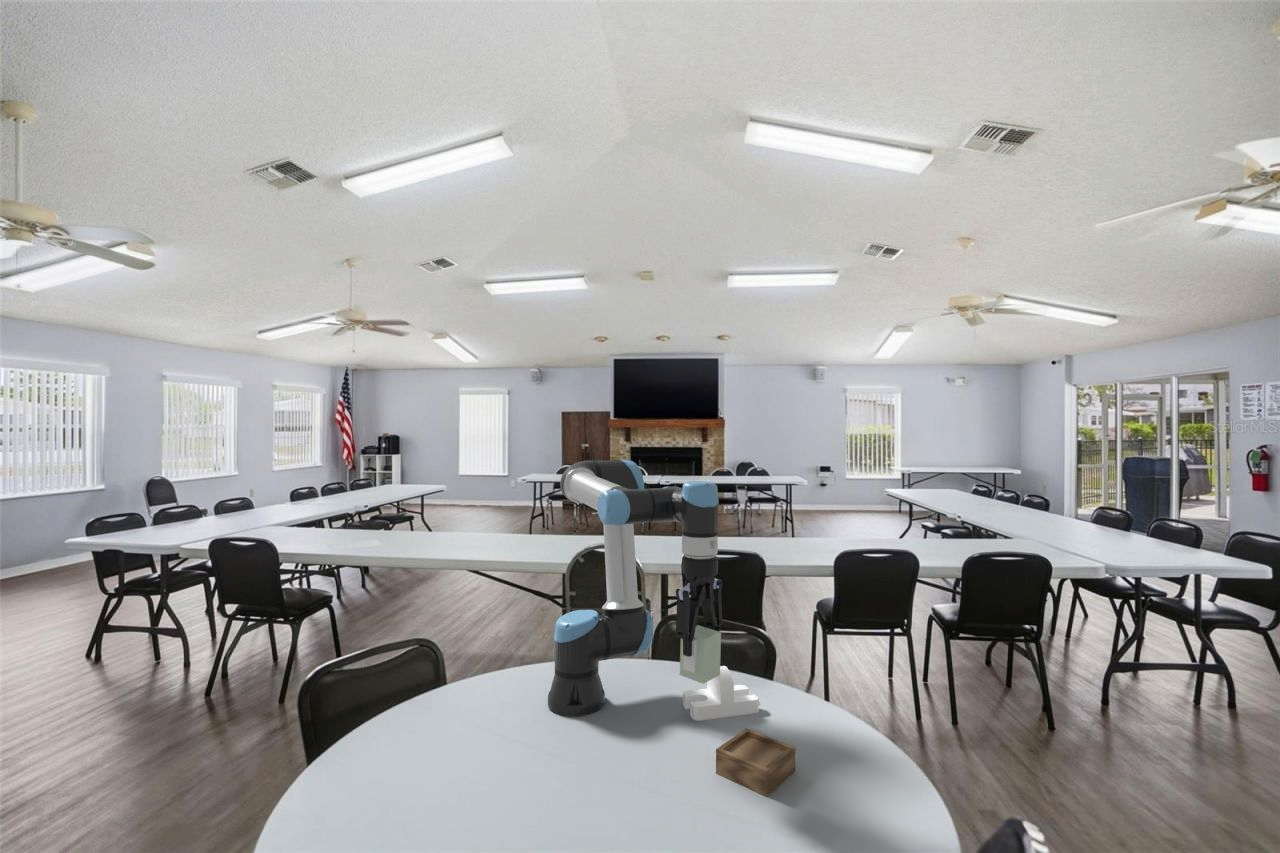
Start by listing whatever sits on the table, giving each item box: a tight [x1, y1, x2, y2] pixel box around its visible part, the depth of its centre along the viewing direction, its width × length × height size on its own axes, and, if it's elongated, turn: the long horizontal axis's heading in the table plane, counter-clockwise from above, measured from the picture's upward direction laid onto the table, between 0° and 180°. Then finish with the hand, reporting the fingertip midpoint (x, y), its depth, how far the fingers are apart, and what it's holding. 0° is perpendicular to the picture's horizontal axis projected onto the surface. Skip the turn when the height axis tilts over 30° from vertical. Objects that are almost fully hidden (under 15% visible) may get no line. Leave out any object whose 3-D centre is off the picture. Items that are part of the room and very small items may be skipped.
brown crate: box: [715, 728, 796, 798], centre depth 122 cm, size 12×12×5 cm
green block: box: [679, 624, 722, 685], centre depth 121 cm, size 6×6×9 cm
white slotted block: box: [682, 665, 760, 722], centre depth 151 cm, size 10×18×11 cm, turn 105°
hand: (699, 665), depth 121 cm, fingers closed on green block, 6 cm apart
